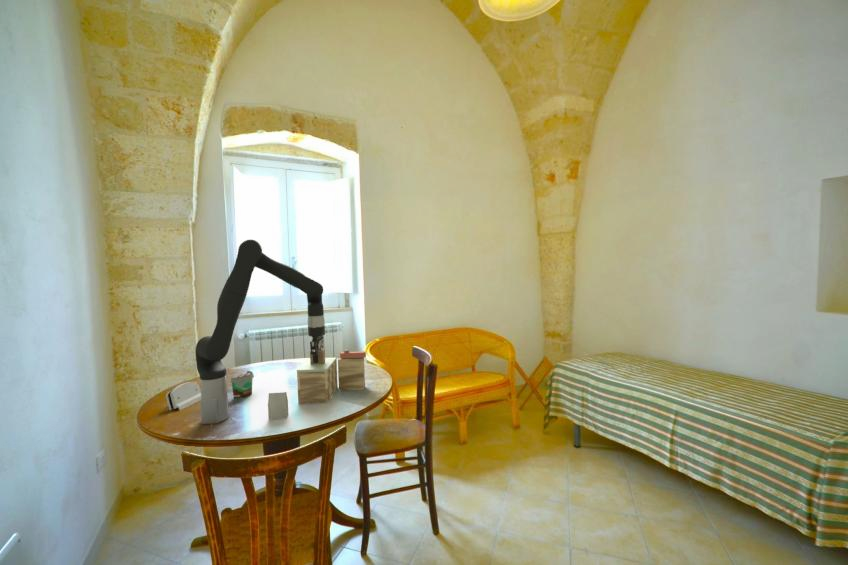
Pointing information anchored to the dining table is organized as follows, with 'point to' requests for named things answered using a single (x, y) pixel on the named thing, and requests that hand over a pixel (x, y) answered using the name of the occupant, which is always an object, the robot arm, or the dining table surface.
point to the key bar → (352, 354)
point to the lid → (317, 367)
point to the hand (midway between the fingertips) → (317, 360)
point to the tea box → (277, 406)
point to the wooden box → (331, 381)
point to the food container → (242, 385)
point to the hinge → (183, 395)
